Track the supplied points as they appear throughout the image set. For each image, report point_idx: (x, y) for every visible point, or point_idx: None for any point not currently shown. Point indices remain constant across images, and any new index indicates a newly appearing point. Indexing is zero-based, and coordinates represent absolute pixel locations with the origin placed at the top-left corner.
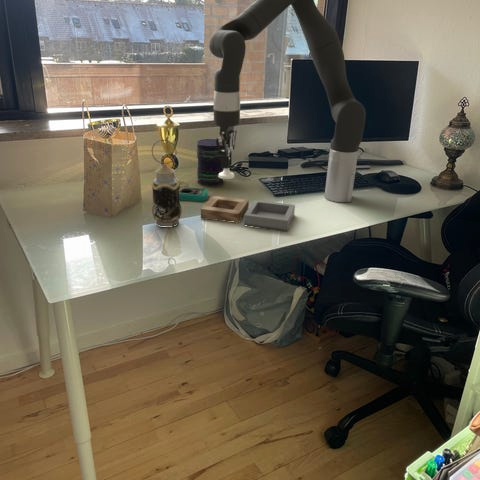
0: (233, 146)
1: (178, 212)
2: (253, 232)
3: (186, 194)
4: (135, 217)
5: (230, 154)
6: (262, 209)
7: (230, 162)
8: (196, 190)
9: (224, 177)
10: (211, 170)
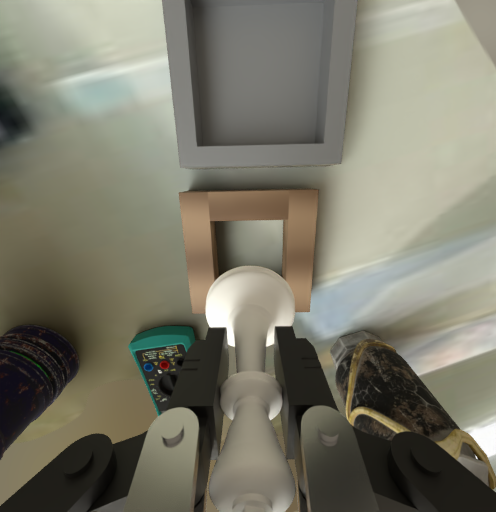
0: (85, 493)
1: (384, 352)
2: (369, 119)
3: None
4: None
5: (214, 407)
6: (201, 130)
7: (223, 344)
8: (155, 366)
9: (294, 308)
10: (25, 385)
